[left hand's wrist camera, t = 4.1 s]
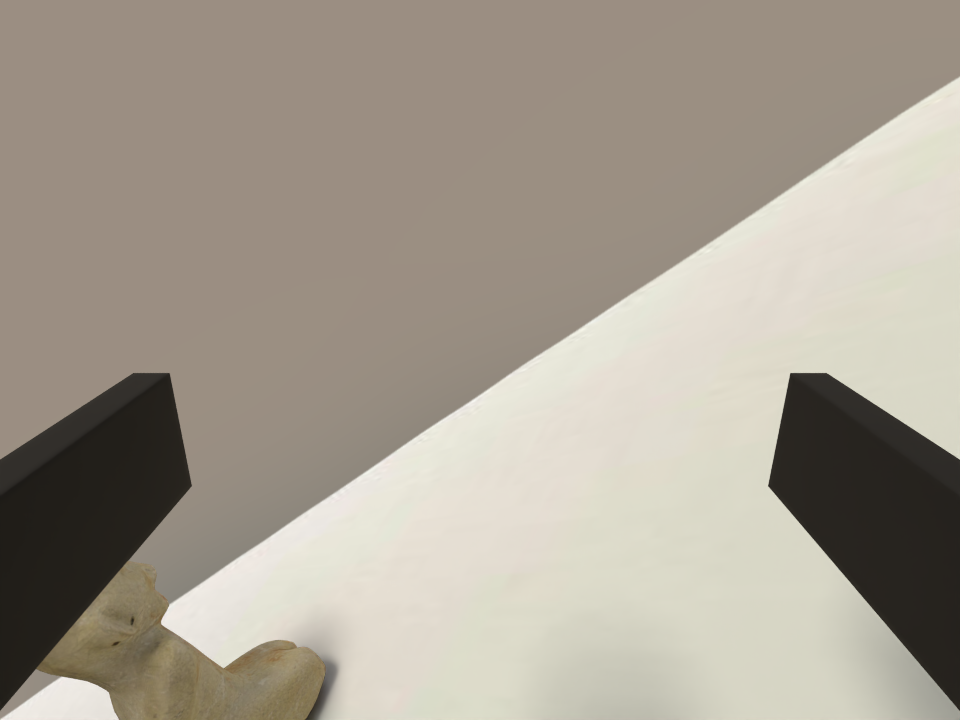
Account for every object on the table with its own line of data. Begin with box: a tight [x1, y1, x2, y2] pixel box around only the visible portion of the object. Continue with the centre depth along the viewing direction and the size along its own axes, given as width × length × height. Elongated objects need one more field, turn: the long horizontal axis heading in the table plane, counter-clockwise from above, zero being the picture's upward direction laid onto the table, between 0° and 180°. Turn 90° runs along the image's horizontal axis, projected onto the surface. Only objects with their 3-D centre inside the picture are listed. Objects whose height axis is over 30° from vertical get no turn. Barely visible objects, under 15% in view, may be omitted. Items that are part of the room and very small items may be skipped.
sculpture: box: [36, 561, 326, 720], centre depth 28 cm, size 6×7×15 cm
